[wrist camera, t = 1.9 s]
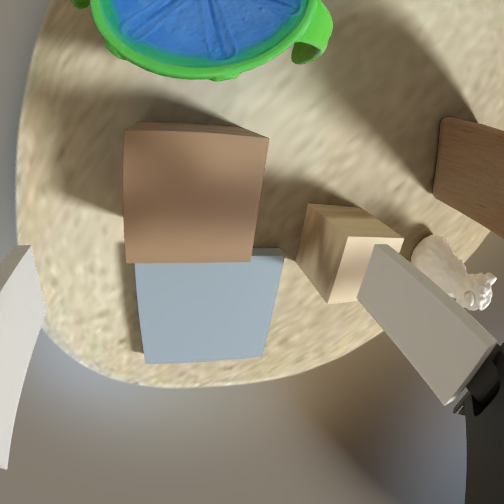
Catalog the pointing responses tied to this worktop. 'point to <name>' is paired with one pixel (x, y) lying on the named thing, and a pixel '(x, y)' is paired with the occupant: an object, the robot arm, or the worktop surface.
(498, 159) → the block
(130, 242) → the walnut brick
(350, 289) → the oak brick
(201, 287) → the plate
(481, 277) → the sitting furry creature
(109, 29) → the snack cup
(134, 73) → the worktop surface
